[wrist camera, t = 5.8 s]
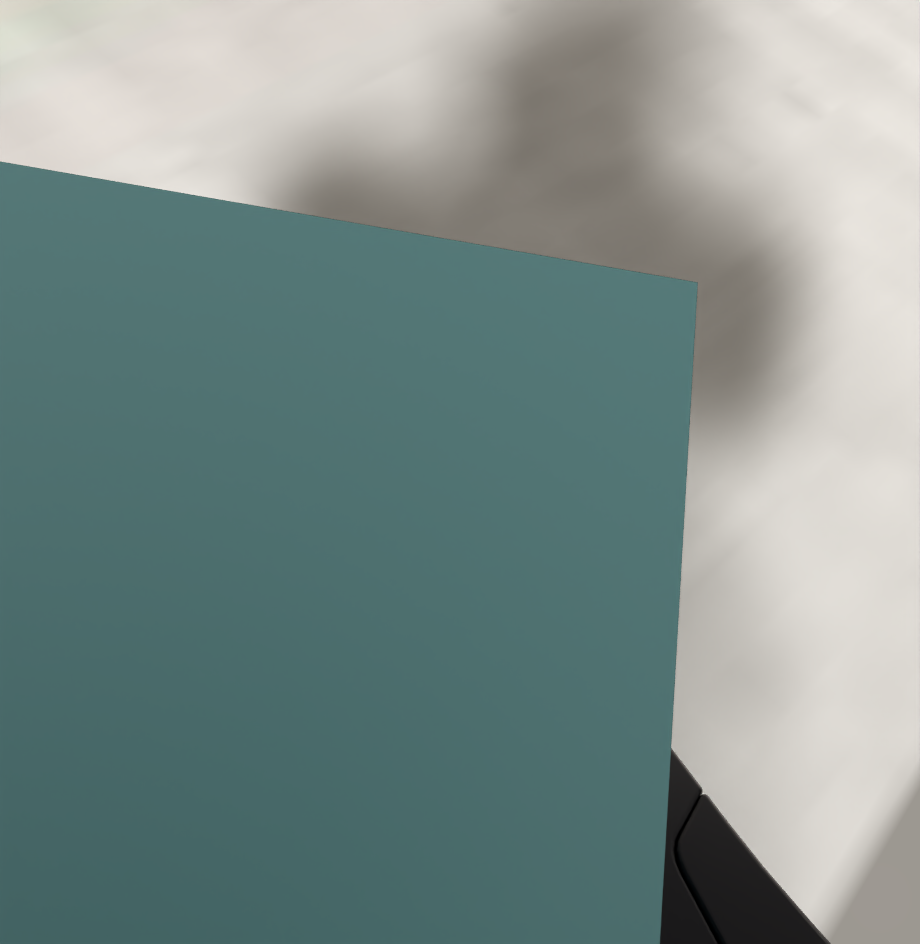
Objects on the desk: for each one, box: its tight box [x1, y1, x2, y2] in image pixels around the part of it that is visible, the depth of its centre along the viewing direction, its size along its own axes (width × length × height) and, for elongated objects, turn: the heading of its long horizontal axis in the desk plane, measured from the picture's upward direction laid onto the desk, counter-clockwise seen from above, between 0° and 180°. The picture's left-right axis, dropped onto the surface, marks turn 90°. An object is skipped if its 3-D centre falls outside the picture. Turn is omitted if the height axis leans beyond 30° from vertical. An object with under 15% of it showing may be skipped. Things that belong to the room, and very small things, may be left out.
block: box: [0, 162, 698, 944], centre depth 9 cm, size 5×5×12 cm
